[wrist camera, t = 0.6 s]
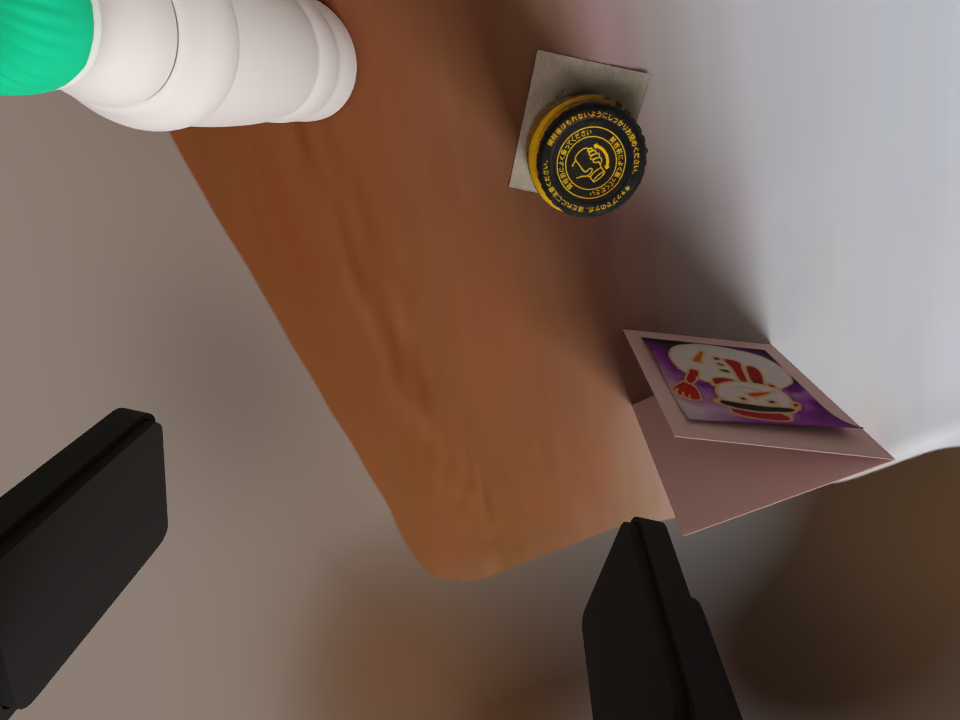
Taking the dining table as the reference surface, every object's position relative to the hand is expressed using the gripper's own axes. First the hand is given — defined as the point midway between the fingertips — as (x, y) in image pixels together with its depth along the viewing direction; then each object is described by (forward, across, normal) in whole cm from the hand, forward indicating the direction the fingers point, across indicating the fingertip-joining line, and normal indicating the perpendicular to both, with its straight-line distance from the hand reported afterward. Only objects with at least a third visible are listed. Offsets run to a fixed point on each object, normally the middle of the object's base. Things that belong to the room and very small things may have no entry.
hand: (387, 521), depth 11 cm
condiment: (+31, -5, -7) cm, 32 cm away
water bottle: (+31, +13, -7) cm, 35 cm away
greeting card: (+31, -18, +8) cm, 37 cm away
